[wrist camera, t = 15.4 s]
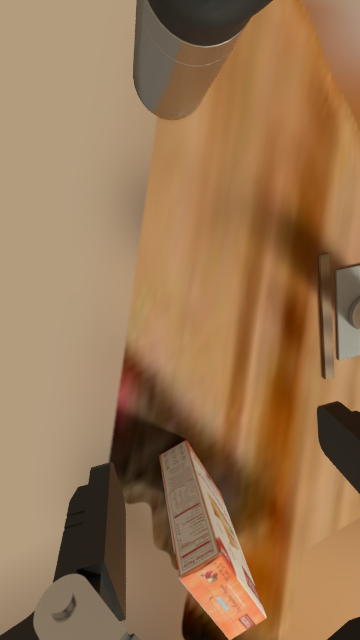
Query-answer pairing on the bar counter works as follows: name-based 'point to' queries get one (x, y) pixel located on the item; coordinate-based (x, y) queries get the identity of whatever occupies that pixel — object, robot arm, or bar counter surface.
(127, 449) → the bar counter surface
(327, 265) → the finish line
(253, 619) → the cracker box
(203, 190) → the bar counter surface
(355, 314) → the travel mug
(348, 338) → the mat
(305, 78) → the bar counter surface
